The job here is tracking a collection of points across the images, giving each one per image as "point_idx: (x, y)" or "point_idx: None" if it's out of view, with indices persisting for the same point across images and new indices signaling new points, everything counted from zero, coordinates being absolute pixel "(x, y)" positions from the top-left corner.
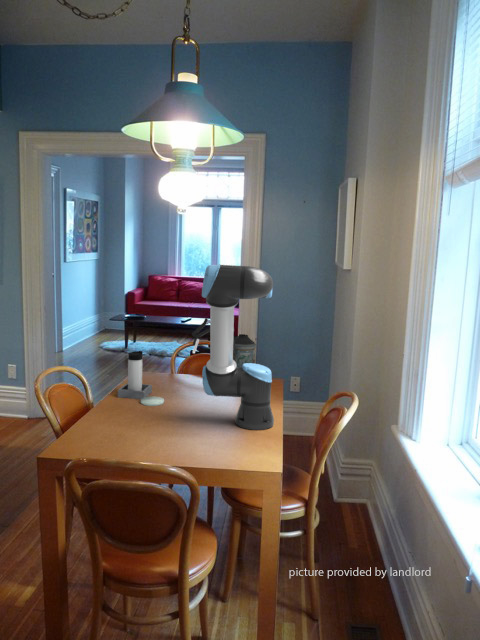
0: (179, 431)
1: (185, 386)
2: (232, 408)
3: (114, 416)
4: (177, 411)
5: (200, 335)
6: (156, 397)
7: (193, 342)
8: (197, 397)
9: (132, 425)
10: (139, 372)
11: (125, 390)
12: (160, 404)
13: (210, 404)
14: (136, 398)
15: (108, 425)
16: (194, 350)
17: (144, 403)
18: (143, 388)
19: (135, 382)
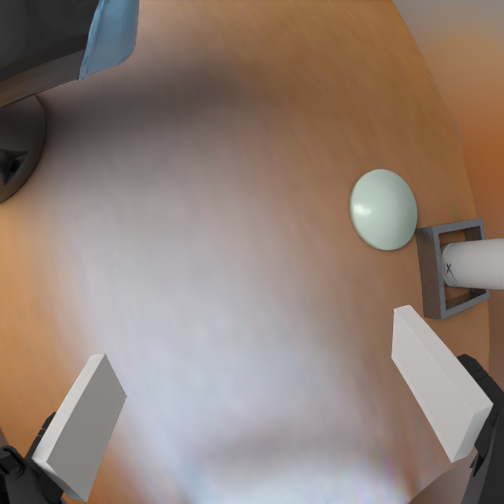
0: (191, 10)
1: (353, 436)
2: (83, 266)
3: (391, 70)
4: (267, 146)
5: (496, 460)
6: (388, 239)
7: (481, 369)
8: (267, 345)
9: (321, 23)
10: (496, 253)
11: (469, 220)
12: (351, 193)
13: (181, 279)
14: (431, 226)
15: (363, 21)
16: (408, 320)
17: (391, 172)
18: (449, 304)
19: (474, 243)
